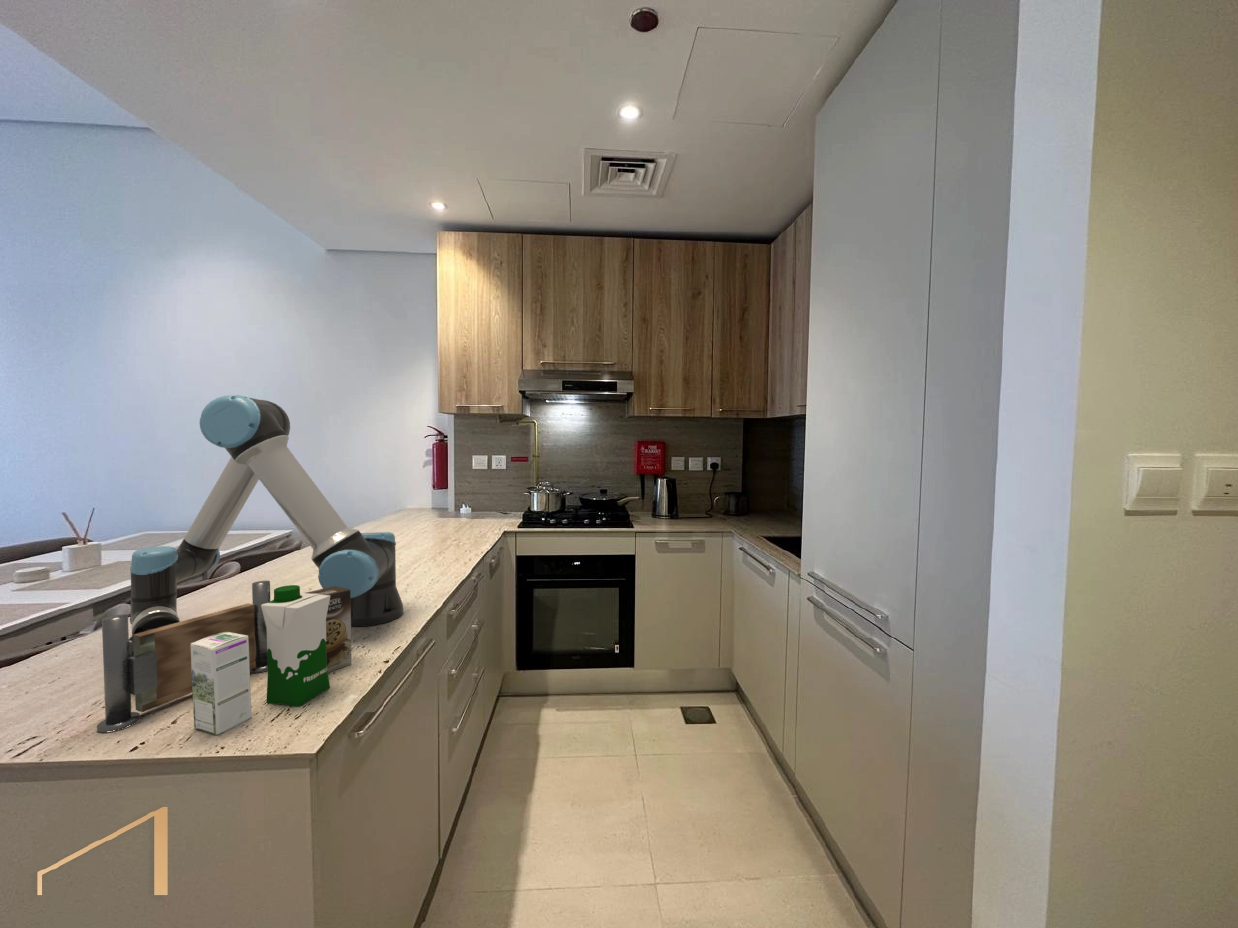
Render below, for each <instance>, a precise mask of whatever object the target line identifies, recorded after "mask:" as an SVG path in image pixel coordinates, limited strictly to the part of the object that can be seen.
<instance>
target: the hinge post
mask: <svg viewBox="0 0 1238 928" xmlns="http://www.w3.org/2000/svg"><path fill="white" fill-rule="evenodd" d="M251 591H252V592H251V594H252V595H251V596H252V600H251V601H252V604H254V638H255V662H256V668H254V669H252V670H250V674H261V673H266V672H268V663H267V629H266V624H265V620H264V616H263V612H262V608H261V605H262V604H265V603H267V602H270V601H271V581H270V580H260V581H259V580H258V581H254V582H253V583H251Z"/></svg>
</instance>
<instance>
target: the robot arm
mask: <svg viewBox="0 0 1238 928" xmlns="http://www.w3.org/2000/svg"><path fill="white" fill-rule="evenodd" d="M200 414H201V415H200V418H199V428H200V431H201V434H202V435H203V437H204V439H206V440H207V441H208V442H209V443H211V444H213V445H215V446H217V447H219V448H223V449H225V450H226V451H227V453H228V454H229V455H230V459H229V460H228V462H227V464H226V465H225V467H224V468H223V470H222V471H221V474H220V475H219V477H218V479H217V481H216V483H215V484H214V486H213V488H212V489H211V491H210V493H209V495H208V497H207V498H206V500H205V501H204V503H203V505H202V506H201V508H200V511H199V512H198V513H197V515H196V516H195V519H194V520H193V522H192V524H191V526H190V527H189V528H188V530H187V532H186V534H185V536H184V538H183V539H182V541H181V543H180V544H179V546H178V548H177V549H176V548H175V547H174V546H169V545H168V546H167V545H166V546H165V545H163V546H152V547H151V546H150V547H145V548H140V549H136V550H135V551H133V553H132V554H131V561H130V562H131V565H130V567H129V571H130V614H129V623H130V625H131V626H130V627H131V628H130V629H131V636H129V658H130V657H133V656H134V645H133V635H134V634H137V633H141V632H145V631H148V630H152V629H156V628H159V627H163V626H167V625H170V624H174V623H178V622H181V621H180V618H179V615H178V612H177V605H178V604H177V597H178V592H177V591H178V583H179V582H182V581H185V580H187V579H191V578H192V577H195V576H198V575H201V574H204V573H206V572H208V571H209V570H211V569H213V568H214V567H215V566H217V565H218V563H219V561H220V559H221V553H220V550H219V549H220V547H221V545H222V544H223V542H224V540H225V538H226V537H227V535H228V534H229V532H230V530H231V529H232V526H233V525H234V523H235V521H236V520H237V518H238V516H239V514H241V511H242V510H243V508H244V506H245V504H246V502H247V501H248V499H249V497H250V495H251V494H252V492H253V490H254V489H255V487H256V485H257V484H258V482H259V481H260V482H261V484H262V485H263V487H264V488H265V489H266V490H267V492H268V493H269V494H270V495H271V497H272V498H273V499H274V501H275V502H276V503H277V505H278V506H279V507H280V508H281V510H282V511H283V512H284V514H285V515H286V516H287V518H288V519H289V520H290V521H291V523H292V524H293V525H294V527H295V528H296V530H298V531H299V533H300V534H301V536H302V537H303V538H304V540H305V541H306V542H307V544H308V545H310V547H311V549H312V554H311V561H312V562H313V563H314V564H315V566H316V568H318V574H317V575H318V576H317V577H318V582H319V584H320V586H321V589H324V588H329V587H333V586H337V587H341V588H346V589H349V590H351V591H350V593H351V627H368V626H375V625H380V624H385V623H389V622H391V621H394V620H397V619H399V618H400V617H401V616H402V615H404V603H403V601H402V597H401V595H400V594H399V590H398V587H397V582H396V581H397V576H396V575H397V572H396V571H397V570H396V567H397V566H396V565H397V564H396V561H397V560H396V545H397V542H396V537H395V534H394V533H393V532H389V531H385V532H384V531H382V532H381V531H379V532H378V531H377V532H360V530H359V529H355V528H350V527H348V526H347V525H346V523H345V521H344V520H343V519H342V517H341V516H340V515H339V514H338V512H337V511H336V509H335V508H334V507H333V506H332V504H331V502H329V501H328V499H327V498H326V497H325V495H324V494H323V493H322V491H321V490H320V488H319V487H318V486H317V485H316V483H315V482H314V480H313V479H312V478H311V477H310V475H309V474H308V473H307V471H306V470H305V468H304V467H303V466H302V465H301V464H300V462H299V460H298V459H297V458H296V457H295V455H294V454H293V453H292V451H291V450H290V448H288V442H289V439H290V437H289V435H290V431H291V421H290V418H289V415H288V413H287V412H286V411H285V410H284V409H283V407H281V406H280V405H279V404H277V403H275V402H273V401H269V400H265V399H257V398H252V397H248V396H245V395H239V394H234V395H222V396H219V397H215V399H212V400H211V401H209V402H208V403H207V404H206V405H205V406H204V408H203V409H202V411H201V413H200Z"/></svg>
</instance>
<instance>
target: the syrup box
mask: <svg viewBox="0 0 1238 928" xmlns="http://www.w3.org/2000/svg"><path fill="white" fill-rule="evenodd" d="M191 669H192V691H193V693H192V708H193V728H194V729H195V730H199V731H202V732H206V733H208V734H213V735H215V736H216V735H217V736H218V735H220V734H222V733H224V732H226V731H228V730H230V729H232V728H235V727H237V726H239V725H240V724H243V723H244V722H247V721H248V720H250V719H251V718H252V716H253V715H252V695H251V692H252V691H251V689H252V688H251V673H250V666H249V641H248V636H247V635H241V634H236V633H231V632H222V633H219V634H215V635H212V636H209V637H206V638H203V639H201V640H198V641H196V642H194V643H191Z"/></svg>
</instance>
